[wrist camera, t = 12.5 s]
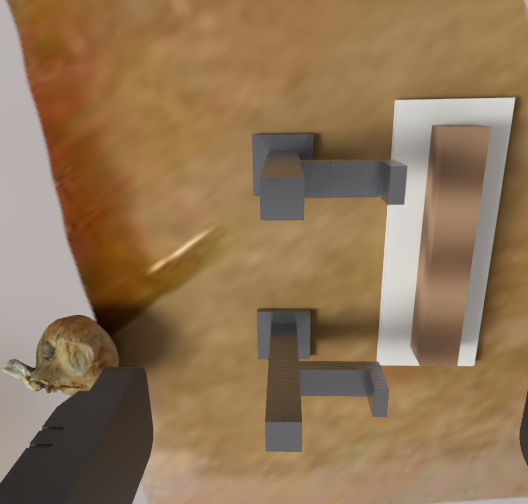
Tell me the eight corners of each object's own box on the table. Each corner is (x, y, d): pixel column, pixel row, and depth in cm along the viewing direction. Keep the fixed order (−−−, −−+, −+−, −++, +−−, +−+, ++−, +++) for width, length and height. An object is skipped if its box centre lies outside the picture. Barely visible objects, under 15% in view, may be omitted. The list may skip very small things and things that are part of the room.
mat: (395, 100, 35) (397, 99, 35) (510, 97, 35) (515, 97, 34) (376, 360, 43) (378, 365, 42) (470, 361, 43) (474, 365, 42)
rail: (432, 125, 35) (445, 127, 32) (473, 124, 35) (491, 126, 32) (409, 346, 42) (419, 365, 38) (444, 346, 41) (457, 366, 38)
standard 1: (257, 309, 42) (244, 404, 29) (364, 309, 41) (402, 406, 28) (258, 355, 43) (247, 466, 30) (362, 356, 43) (396, 468, 30)
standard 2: (252, 134, 37) (234, 153, 24) (375, 132, 36) (427, 150, 23) (254, 194, 38) (238, 242, 25) (371, 193, 38) (418, 241, 25)
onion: (87, 386, 46) (48, 443, 38) (37, 326, 44) (-15, 374, 36) (146, 354, 44) (117, 406, 36) (96, 290, 42) (54, 332, 34)
